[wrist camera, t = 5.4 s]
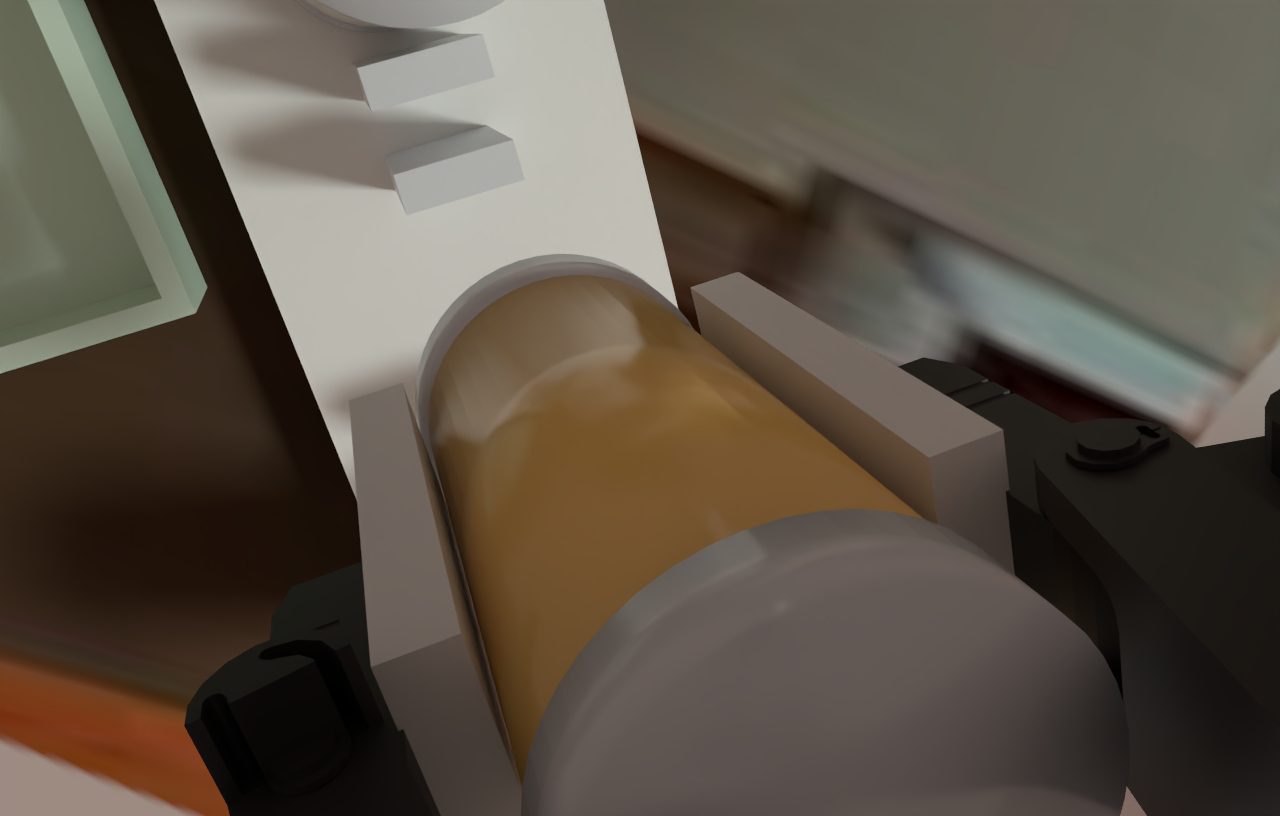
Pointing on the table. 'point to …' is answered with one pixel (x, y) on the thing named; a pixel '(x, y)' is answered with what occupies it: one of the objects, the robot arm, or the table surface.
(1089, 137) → the table surface
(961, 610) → the fuse amber
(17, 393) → the table surface
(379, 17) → the ball
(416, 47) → the fuse panel
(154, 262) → the tray
